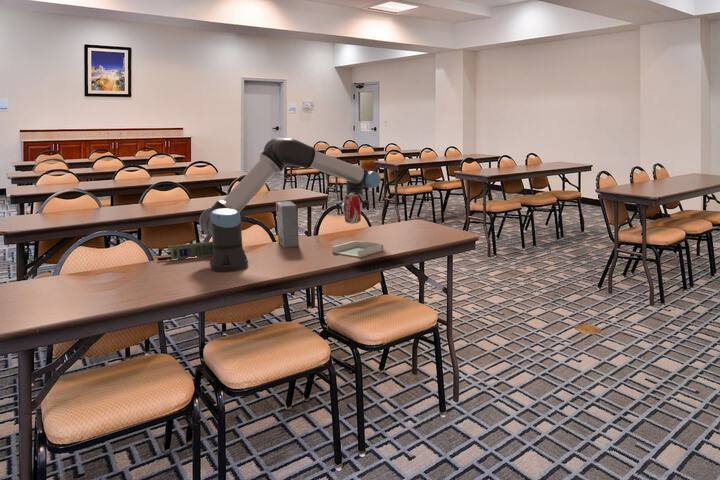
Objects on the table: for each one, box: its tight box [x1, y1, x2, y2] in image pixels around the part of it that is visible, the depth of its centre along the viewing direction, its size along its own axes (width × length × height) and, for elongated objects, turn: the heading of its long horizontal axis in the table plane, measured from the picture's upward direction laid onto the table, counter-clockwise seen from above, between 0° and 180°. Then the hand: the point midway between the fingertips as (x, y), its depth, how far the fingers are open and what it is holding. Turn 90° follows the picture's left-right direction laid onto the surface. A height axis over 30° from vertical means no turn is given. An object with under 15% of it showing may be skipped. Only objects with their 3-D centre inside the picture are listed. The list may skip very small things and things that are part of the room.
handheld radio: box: [157, 241, 213, 262], centre depth 249 cm, size 7×3×25 cm
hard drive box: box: [275, 200, 300, 249], centre depth 271 cm, size 16×8×20 cm, turn 17°
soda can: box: [343, 194, 362, 225], centre depth 245 cm, size 7×7×12 cm
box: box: [331, 240, 384, 259], centre depth 251 cm, size 16×16×3 cm
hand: (351, 208), depth 240 cm, fingers closed on soda can, 7 cm apart
